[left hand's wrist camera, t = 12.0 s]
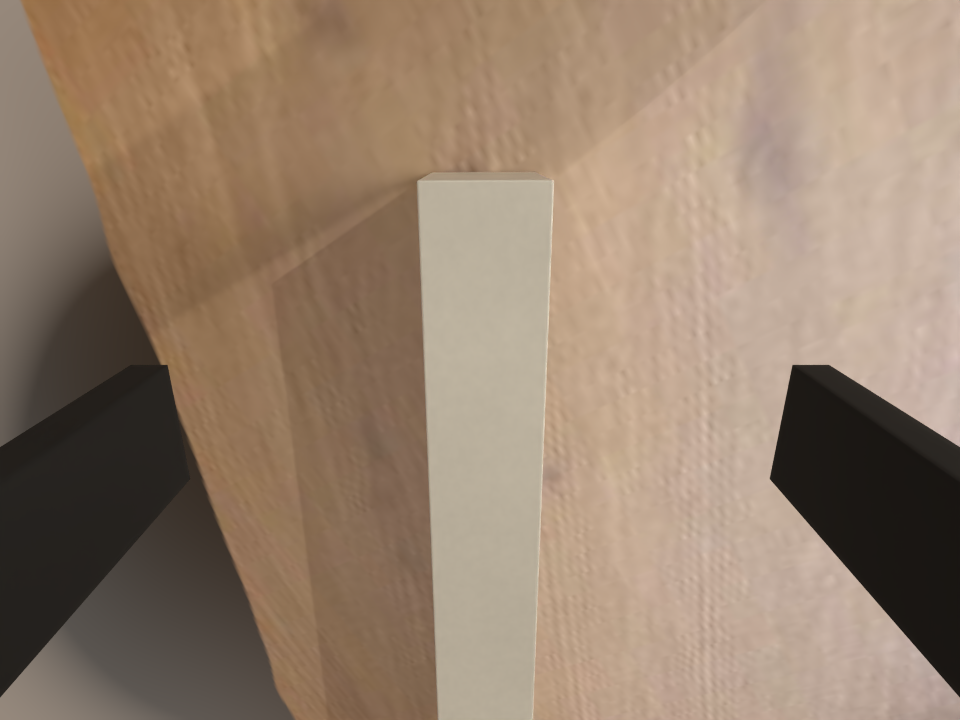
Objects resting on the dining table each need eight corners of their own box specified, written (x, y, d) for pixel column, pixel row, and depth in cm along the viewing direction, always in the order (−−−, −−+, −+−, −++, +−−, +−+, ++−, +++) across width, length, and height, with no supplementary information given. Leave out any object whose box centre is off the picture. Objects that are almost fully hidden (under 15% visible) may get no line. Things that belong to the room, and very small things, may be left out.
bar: (431, 172, 31) (416, 180, 24) (536, 171, 31) (554, 179, 24) (453, 886, 52) (448, 1006, 45) (515, 886, 52) (521, 1006, 45)
